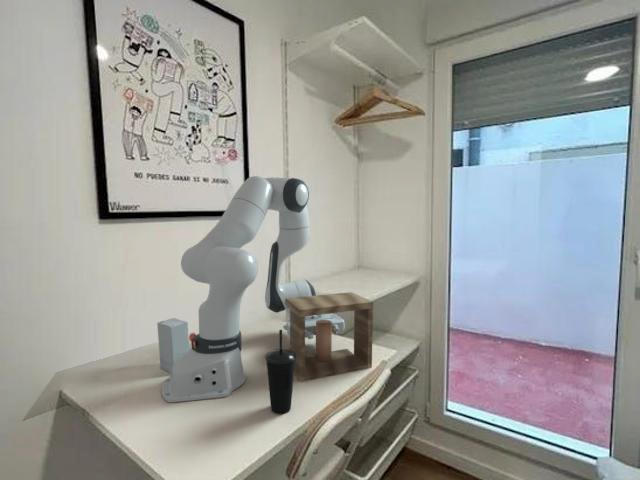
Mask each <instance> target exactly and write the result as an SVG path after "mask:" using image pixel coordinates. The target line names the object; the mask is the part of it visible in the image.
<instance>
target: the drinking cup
mask: <svg viewBox="0 0 640 480" xmlns="http://www.w3.org/2000/svg"><path fill="white" fill-rule="evenodd" d="M278 332H279V333H278V335H279V336H278V337H279V338H278V339H279V346H278V347H279V348H277V349H274V350H271V351H269V352H266V354H265V356H264V358H265V361H266V371H267V379H268V390H269V399H270V400H269V401H270V411H271V412H272V413H273V414H276V415H284V414H287V413H289V412H290V411H291V407H292V398H293V386H294V377H295V376H294V375H295V374H294V367H295V359H296V353H295V352H293V351H291V350H290V349H287V348H283V330H282V329H279V330H278Z"/></svg>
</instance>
